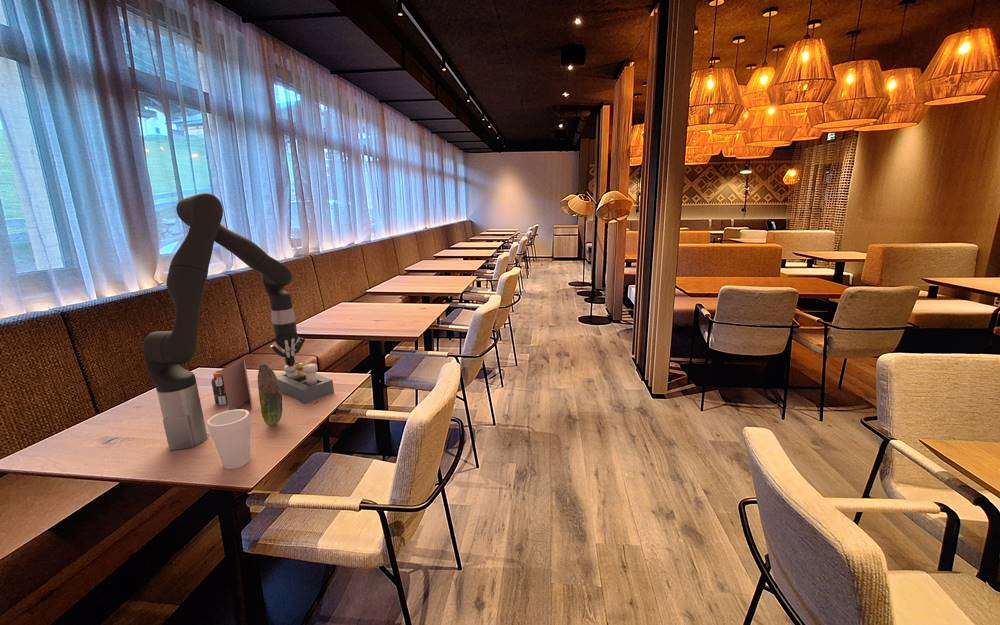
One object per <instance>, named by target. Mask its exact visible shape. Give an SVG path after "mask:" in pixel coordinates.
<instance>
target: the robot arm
mask: <svg viewBox="0 0 1000 625" xmlns="http://www.w3.org/2000/svg"><path fill="white" fill-rule="evenodd" d="M223 208H224V207H223V204H222V202H221V201H220V199H219V198H218V197H217V196H216V195H214V194H212V193H209V192H203V193H202V192H201V193H197V194H194V195H190V196H187V197H185V198H182V199H180V201H178V202H177V204H176V210H175V211H176V214H177V216H178V218H179V219H180V221H181V222H183V223H184V224H185V225H187V227H189V229H188V232H187V233H186V234H187V235H186V237H185V238H184V239H183V241H182V243H181V245H180V246H179V247H178V249H177V250H176V252H175V254H174V255H173V258H171V261H170V264H169V269H168V272H167V273H168V274H167V277H166V288H167V292H168V295H169V297H170V299H171V301H172V303H173V306H174V310H175V317H174V323H173V324H174V325H173V329H172V330H160V331H159V330H157V331H152V332H151V333H149V334H148V335H146V337H145V338H144V340H143V343H142V355H143V359H144V363H145V366H146V370H147V373H148V376H149V379H150V381H151V383H152V384H153V385H154V386H155V389H156V393H157V398H158V403H159V407H160V410H161V416H162V423H163V428H164V433H165V437H166V441H167V445H168V451H176V450H177V451H178V450H185V449H193V448H195V446H197V445H199V444H202V443H203V442H205V440H207V439H208V433H207V432H208V431H207V427H206V422H205V419H204V418H205V417H204V412H203V408H202V403H201V398H200V394H199V389H198V384H197V379H196V375H195V374H194V372H192V371H190V370H188V369H185V368H184V367H183V366H181V365H184V364H185V365H186V364H187V363H189V362H190V361H192V360H193V358H194V355H195V353H196V351H197V346H198V345H197V344H198V339H199V338H198V337H199V336H198V335H199V326H200V315H201V308H202V303H203V297H204V292H205V288H206V284H207V279H208V275H209V267H210V263H211V258H212V254H213V249H214V244H215V243H217V244H218V245H219V246H220V247H223V248H224V249H225V250H227V251H229V252H230V253H232V254H233V255H234V256H235V257H237V258H238V259H239V260H240V261H242V262H243V263H244V264H245V265H246V266H247V267H249V268H250V269H252V270H254V271H255V272H259V273H261V278H262V283H263V286H264V289H265V291H266V294H267V296H268V298H269V304H270V309H271V310H270V311H271V322H272V328H273V333H274V339H273V341H274V342H273V343H272V344H270V345H269V346H268V348H269V349H270V350H271V351H272V352H273V353H275V354H276V355H277V356H278V357H282V358H284V361H285V366H286V365H287V366H289V367H291V366H294V364H295V363H296V361H295V360H296V359H295V355H296V354H299V352H300V351H301V349H302V347H303V345H304V343H305V341H306V339H305V338H304V337H301V336H300V335H299V334H298V333H297V331H298V329H297V324H296V322H297V321H296V316H295V311H294V307H293V301H292V295H291V294H290V292H288V291H287V290H286V289H285V287H286V286H289V285H290V284H291V282H292V280H293V274H292V272H291V271H290V269H289V268H288V267H287V266H286V265H285V264H284V263H282V262H280V261H279V260H277V259H275V258H274V257H272V256H270V255H269V254H268V253H267V252H265V251H264V250H263V249H262V248H261V247H260V246H259V245H257V243H255V242H254V241H252V240H251V239H249V238H247V237H245V236H243V235H241V234H239V233H237V232H234V231H233V230H230V229H229V228H227V227H226V226H224V225H222V224H221V223H222V219H223V216H224V209H223ZM279 348H281V350H280V349H279Z"/></svg>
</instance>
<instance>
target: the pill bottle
mask: <svg viewBox="0 0 1000 625" xmlns="http://www.w3.org/2000/svg"><path fill="white" fill-rule="evenodd" d="M212 375H213V378H212V379H211V381H210V382H211V387H212V392H213V397H214V403H215V405H218V406H222V405H224V406H225V405H228V401H227V396H226V391H225V386H224V380H223V375H222V369H221V370H220V369H219V370H216V371H214V372H213V373H212Z"/></svg>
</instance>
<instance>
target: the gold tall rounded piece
mask: <svg viewBox="0 0 1000 625" xmlns="http://www.w3.org/2000/svg"><path fill="white" fill-rule="evenodd" d="M304 365H306V362H305V361H298V362H295V364H294V366H295V369H296V370H297V374H298V380H299V382H301V381H303V380H306V378H305V373H304V372H303V366H304Z"/></svg>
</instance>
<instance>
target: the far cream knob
mask: <svg viewBox="0 0 1000 625" xmlns="http://www.w3.org/2000/svg"><path fill="white" fill-rule="evenodd" d="M283 369H284V370H283V371H284V373H287V377H288V378H291V377H294V376H297V370H296V369H295V366H291V367H289V366H287V365H286V364H285V365H284V366H283Z"/></svg>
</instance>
